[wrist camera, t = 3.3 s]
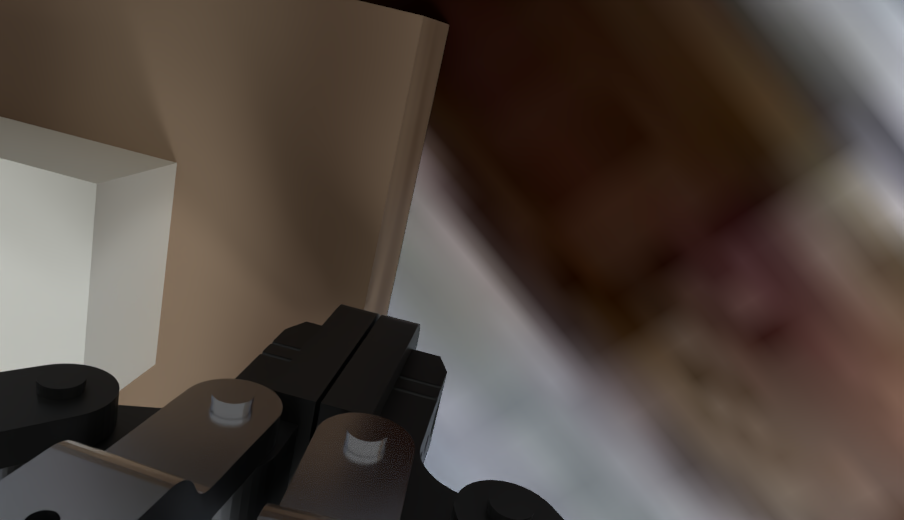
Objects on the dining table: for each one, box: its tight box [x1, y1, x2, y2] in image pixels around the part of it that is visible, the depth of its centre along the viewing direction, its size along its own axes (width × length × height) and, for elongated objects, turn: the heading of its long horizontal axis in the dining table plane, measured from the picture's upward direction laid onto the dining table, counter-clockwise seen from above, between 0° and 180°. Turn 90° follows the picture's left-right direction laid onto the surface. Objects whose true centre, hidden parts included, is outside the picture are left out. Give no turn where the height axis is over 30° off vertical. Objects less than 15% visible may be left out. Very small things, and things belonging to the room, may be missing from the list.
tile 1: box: [0, 117, 177, 391], centre depth 13 cm, size 4×4×2 cm
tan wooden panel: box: [0, 0, 449, 408], centre depth 16 cm, size 15×12×3 cm
